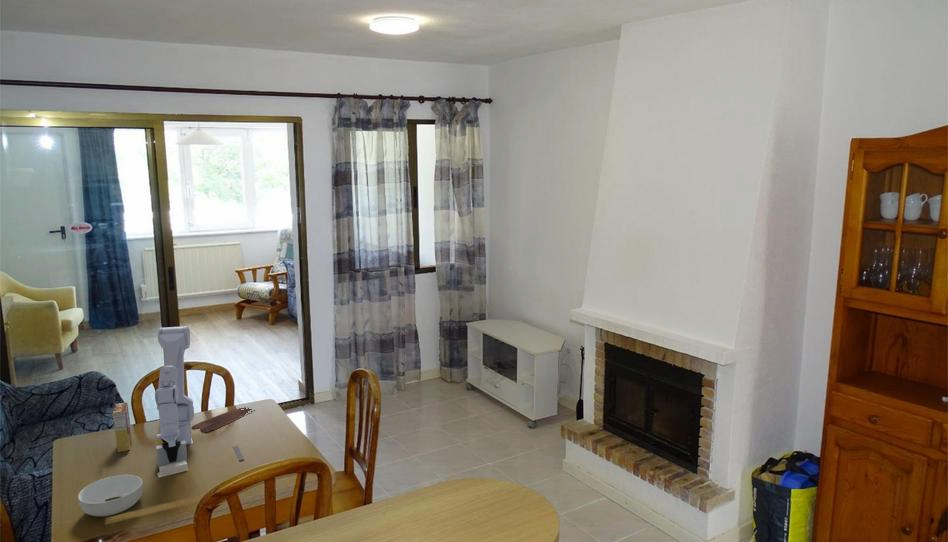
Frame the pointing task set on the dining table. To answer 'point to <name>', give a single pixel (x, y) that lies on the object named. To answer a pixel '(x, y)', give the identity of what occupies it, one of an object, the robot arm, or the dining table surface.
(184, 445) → the pale grey rectangular block
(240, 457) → the grey mat
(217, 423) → the wooden tablet
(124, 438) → the candy box
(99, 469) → the dining table surface
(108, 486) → the cereal bowl
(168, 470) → the upper offcut
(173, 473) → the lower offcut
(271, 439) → the dining table surface
